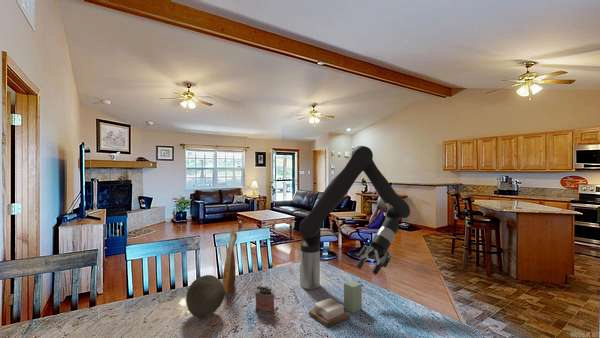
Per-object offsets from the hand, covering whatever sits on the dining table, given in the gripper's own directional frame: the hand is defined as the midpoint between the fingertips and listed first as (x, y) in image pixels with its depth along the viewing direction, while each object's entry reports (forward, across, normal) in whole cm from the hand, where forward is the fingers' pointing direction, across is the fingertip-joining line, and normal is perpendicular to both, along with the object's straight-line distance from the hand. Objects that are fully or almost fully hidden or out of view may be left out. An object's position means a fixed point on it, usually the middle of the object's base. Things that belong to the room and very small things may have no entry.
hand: (366, 270), depth 121 cm
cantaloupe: (+51, -30, -31) cm, 67 cm away
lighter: (+37, -19, -17) cm, 45 cm away
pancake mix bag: (+38, -50, -18) cm, 66 cm away
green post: (+15, 0, +4) cm, 16 cm away
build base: (+24, -1, -5) cm, 24 cm away
